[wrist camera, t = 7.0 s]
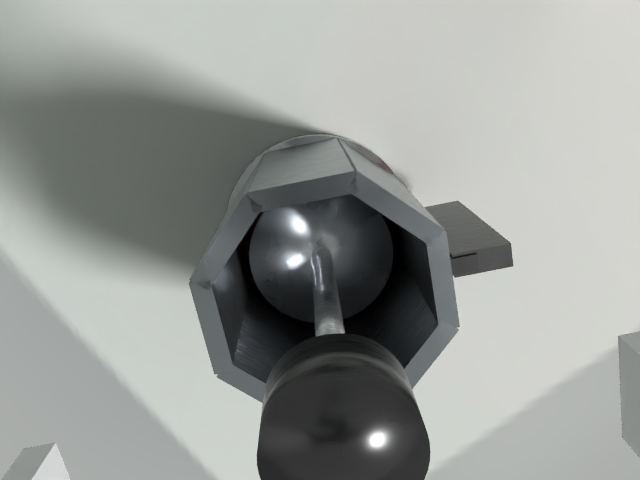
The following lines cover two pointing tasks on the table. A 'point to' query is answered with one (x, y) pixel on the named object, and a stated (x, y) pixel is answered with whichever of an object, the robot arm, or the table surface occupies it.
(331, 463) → the plunger
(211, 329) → the press carafe
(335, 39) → the table surface
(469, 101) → the table surface
